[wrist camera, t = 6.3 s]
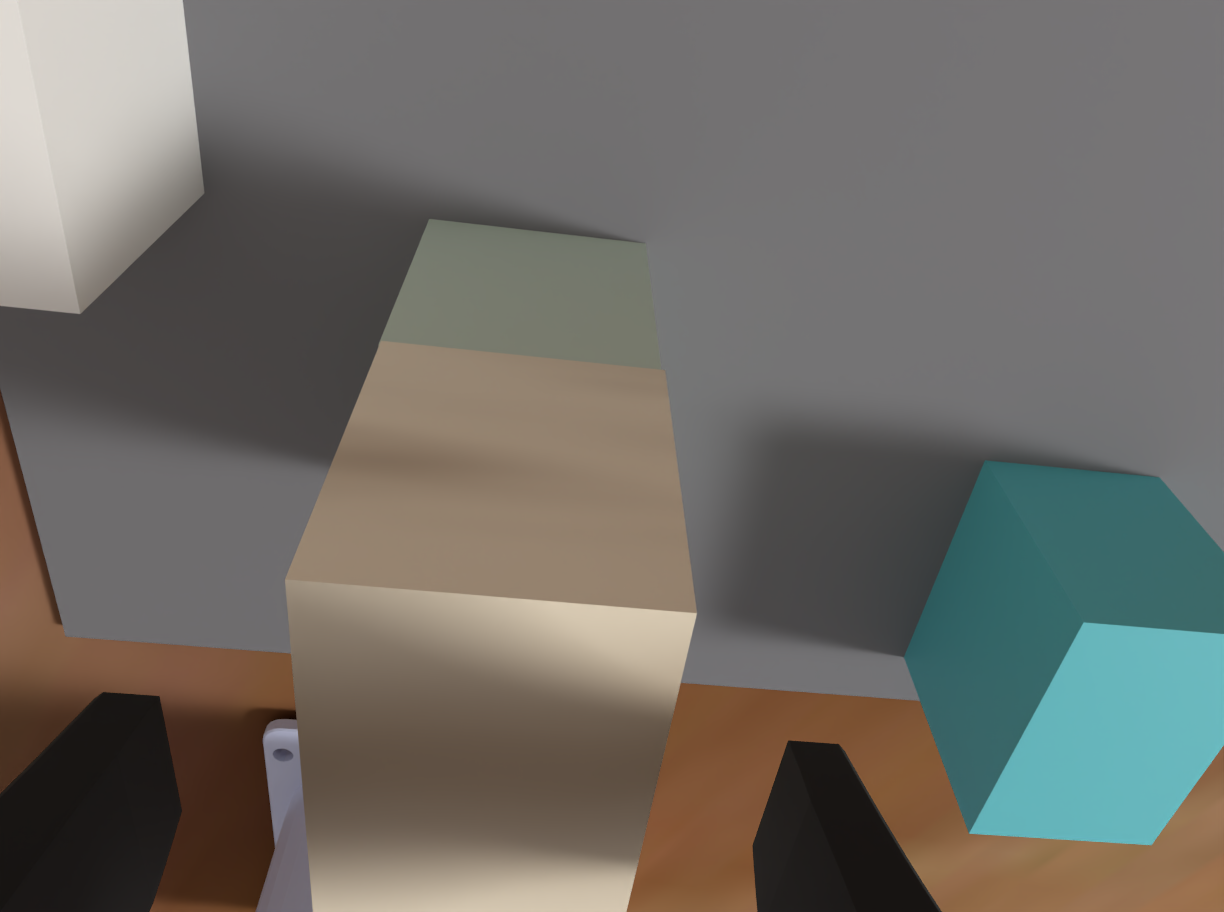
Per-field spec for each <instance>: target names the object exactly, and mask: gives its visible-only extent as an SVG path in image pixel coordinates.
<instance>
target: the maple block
mask: <svg viewBox="0 0 1224 912" xmlns="http://www.w3.org/2000/svg"><path fill="white" fill-rule="evenodd" d="M285 586H286V598H287V610H288V622H289V634H290V646H291V658H292V670H293V681H294V693H295V705H296V717H297V729H298V741H299V753H300V765H301V777H302V789H303V801H304V812H305V824H306V836H307V848H308V860H309V872H310V884H311V896H312V908H313V912H626V911H627V907H628V903H629V898H630V894H631V890H632V886H633V881H634V877H635V873H636V869H637V865H638V860H639V856H640V852H641V848H642V843H643V839H644V835H645V831H646V827H647V822H648V818H649V814H650V810H651V805H652V801H653V797H654V793H655V789H656V784H657V780H658V776H659V772H660V767H661V763H662V759H663V755H664V751H665V746H666V742H667V738H668V734H669V729H670V725H671V721H672V717H673V713H674V708H675V704H676V700H677V696H678V691H679V687H680V683H681V679H682V675H683V670H684V666H685V662H686V658H687V653H688V649H689V645H690V641H691V637H692V632H693V628H694V624H695V620H696V615H697V609H696V602H695V594H694V587H693V579H692V571H691V564H690V556H689V548H688V541H687V533H686V525H685V518H684V510H683V503H682V495H681V487H680V480H679V472H678V464H677V457H676V449H675V441H674V434H673V426H672V419H671V411H670V403H669V396H668V388H667V380H666V373H665V370H659V369H650V368H640V367H630V366H621V365H611V364H601V363H592V362H582V361H572V360H563V359H553V358H543V357H534V356H524V355H514V354H505V353H495V352H485V351H475V350H466V349H456V348H446V347H437V346H427V345H417V344H408V343H398V342H388V341H381V342H380V345H379V347H378V350H377V352H376V355H375V357H374V360H373V362H372V365H371V367H370V370H369V372H368V374H367V377H366V379H365V382H364V384H363V387H362V389H361V392H360V394H359V397H358V399H357V402H356V404H355V407H354V409H353V412H352V414H351V417H350V419H349V422H348V424H347V427H346V429H345V432H344V434H343V437H342V439H341V442H340V444H339V446H338V449H337V451H336V454H335V456H334V459H333V461H332V464H331V466H330V469H329V471H328V474H327V476H326V479H325V481H324V484H323V486H322V489H321V491H320V494H319V496H318V499H317V501H316V504H315V506H314V509H313V511H312V514H311V516H310V518H309V521H308V523H307V526H306V528H305V531H304V533H303V536H302V538H301V541H300V543H299V546H298V548H297V551H296V553H295V556H294V558H293V561H292V563H291V566H290V568H289V571H288V573H287V576H286V578H285Z"/></svg>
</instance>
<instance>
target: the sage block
mask: <svg viewBox="0 0 1224 912" xmlns="http://www.w3.org/2000/svg"><path fill="white" fill-rule="evenodd" d="M381 341H388V342H398V343H408V344H417V345H427V346H437V347H446V348H456V349H466V350H475V351H485V352H495V353H505V354H514V355H524V356H534V357H543V358H553V359H563V360H572V361H582V362H592V363H601V364H611V365H621V366H630V367H640V368H650V369H659V370H661V362H660V354H659V346H658V338H657V330H656V322H655V314H654V306H653V298H652V290H651V282H650V274H649V266H648V258H647V250H646V243H637V242H629V241H620V240H611V239H602V238H593V237H585V236H576V235H567V234H558V233H549V232H541V231H532V230H523V229H514V228H505V227H497V226H488V225H479V224H470V223H462V222H453V221H444V220H435V219H429V221H428V223H427V226H426V228H425V231H424V233H423V236H422V238H421V241H420V243H419V246H418V248H417V250H416V253H415V255H414V258H413V260H412V263H411V265H410V268H409V270H408V273H407V275H406V278H405V280H404V283H403V285H402V288H401V290H400V292H399V295H398V297H397V300H396V302H395V305H394V307H393V310H392V312H391V315H390V317H389V320H388V322H387V325H386V327H385V329H384V332H383V334H382V337H381V339H380V342H381ZM380 342H379V344H378V347H379V345H380Z"/></svg>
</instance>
